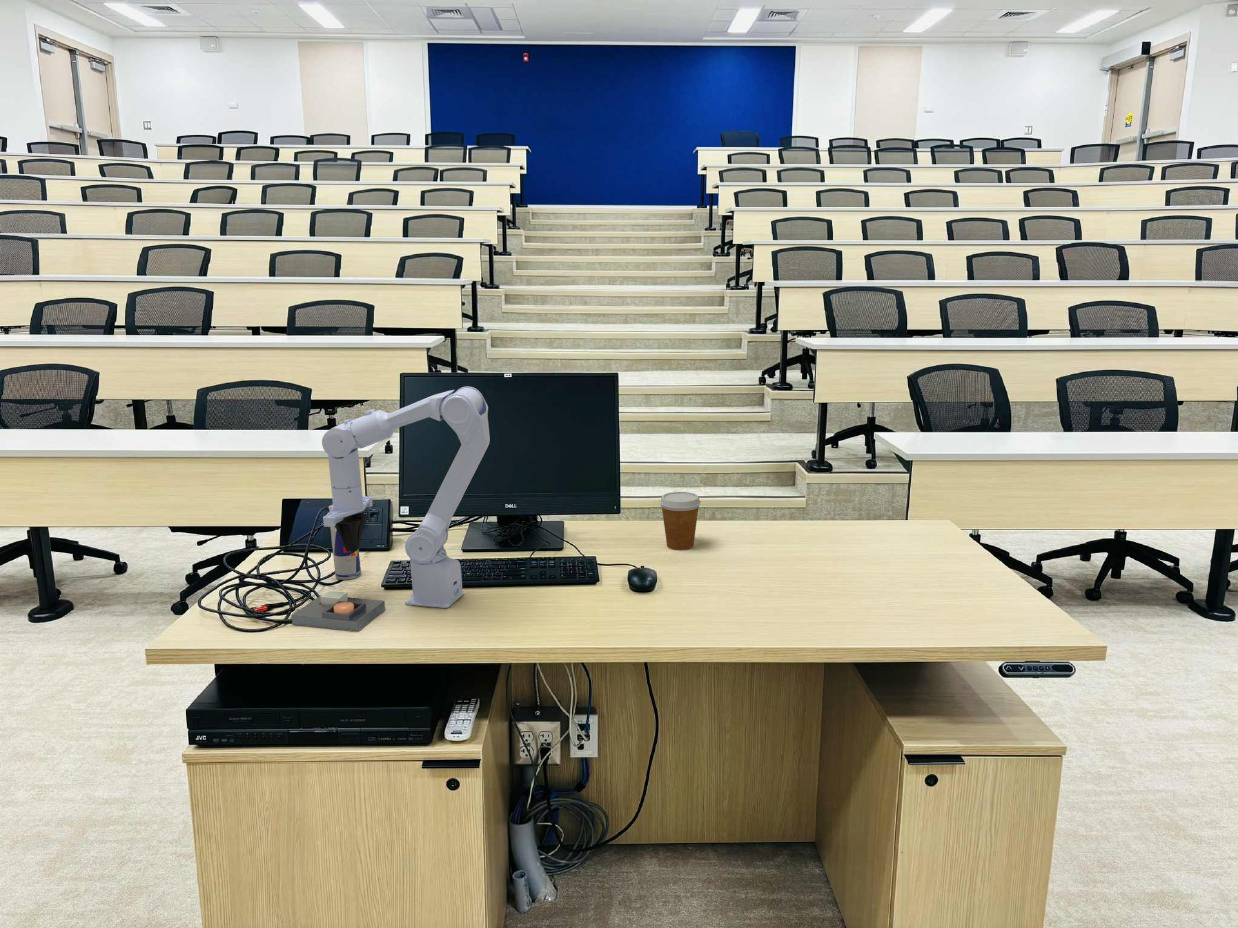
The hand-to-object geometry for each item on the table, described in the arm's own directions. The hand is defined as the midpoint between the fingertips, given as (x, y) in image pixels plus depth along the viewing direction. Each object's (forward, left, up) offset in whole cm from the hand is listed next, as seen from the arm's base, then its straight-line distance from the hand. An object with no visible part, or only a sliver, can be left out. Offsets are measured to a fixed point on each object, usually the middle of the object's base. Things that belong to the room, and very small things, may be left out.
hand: (352, 550), depth 173 cm
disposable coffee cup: (-58, -45, -11) cm, 74 cm away
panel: (-2, +9, -10) cm, 14 cm away
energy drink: (+9, -11, -11) cm, 18 cm away
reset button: (-4, +11, -10) cm, 15 cm away
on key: (+1, +6, -10) cm, 12 cm away
